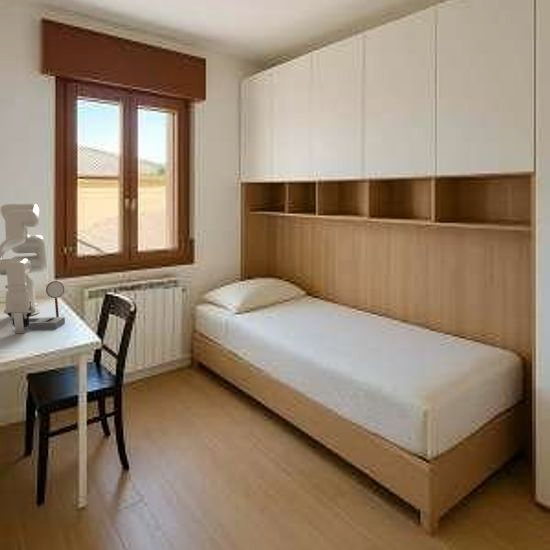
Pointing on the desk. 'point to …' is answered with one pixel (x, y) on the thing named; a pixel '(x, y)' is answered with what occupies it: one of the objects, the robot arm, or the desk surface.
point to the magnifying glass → (55, 292)
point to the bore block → (46, 322)
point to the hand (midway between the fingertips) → (21, 326)
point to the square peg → (19, 323)
